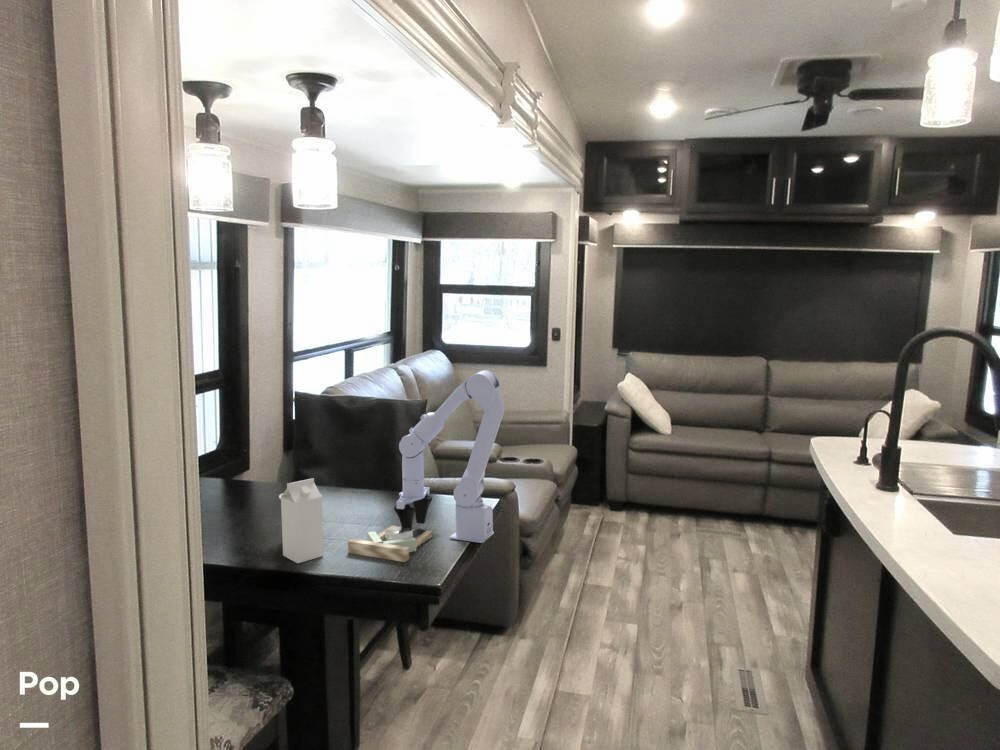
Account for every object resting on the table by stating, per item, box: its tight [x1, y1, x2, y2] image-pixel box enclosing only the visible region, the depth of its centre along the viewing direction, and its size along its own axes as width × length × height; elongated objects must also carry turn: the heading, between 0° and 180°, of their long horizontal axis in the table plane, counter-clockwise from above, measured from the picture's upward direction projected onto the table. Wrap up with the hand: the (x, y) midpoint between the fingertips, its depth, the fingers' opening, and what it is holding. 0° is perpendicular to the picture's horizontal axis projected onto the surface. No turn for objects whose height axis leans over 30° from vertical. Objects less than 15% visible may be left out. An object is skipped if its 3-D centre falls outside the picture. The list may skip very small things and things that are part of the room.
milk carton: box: [280, 477, 324, 564], centre depth 172 cm, size 7×7×19 cm
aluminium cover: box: [384, 526, 414, 541], centre depth 183 cm, size 7×7×3 cm
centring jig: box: [347, 525, 433, 563], centre depth 181 cm, size 16×18×3 cm
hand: (414, 527), depth 190 cm, fingers open, 7 cm apart
